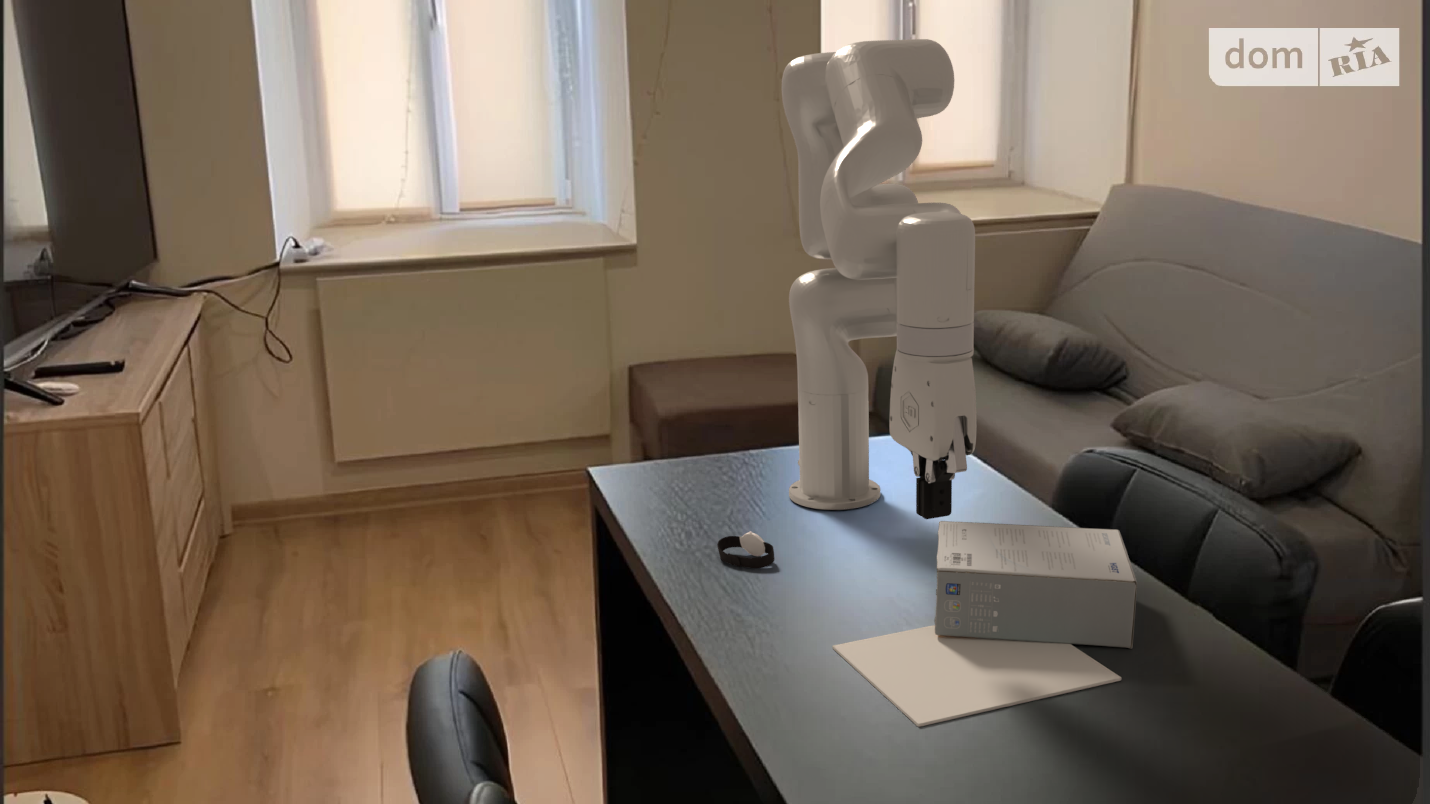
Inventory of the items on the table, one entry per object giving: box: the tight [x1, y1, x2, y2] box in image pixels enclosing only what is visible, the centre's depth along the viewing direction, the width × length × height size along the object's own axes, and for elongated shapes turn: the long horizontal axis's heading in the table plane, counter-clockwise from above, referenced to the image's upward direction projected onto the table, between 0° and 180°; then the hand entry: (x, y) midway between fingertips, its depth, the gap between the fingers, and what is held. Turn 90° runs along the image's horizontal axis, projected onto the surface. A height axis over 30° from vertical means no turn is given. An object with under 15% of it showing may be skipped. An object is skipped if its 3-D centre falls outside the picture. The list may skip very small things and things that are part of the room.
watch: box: [716, 530, 776, 569], centre depth 159 cm, size 8×5×4 cm, turn 54°
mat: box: [832, 624, 1122, 728], centre depth 130 cm, size 18×22×1 cm
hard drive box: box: [934, 520, 1138, 649], centre depth 140 cm, size 16×8×20 cm
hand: (933, 514), depth 134 cm, fingers closed
